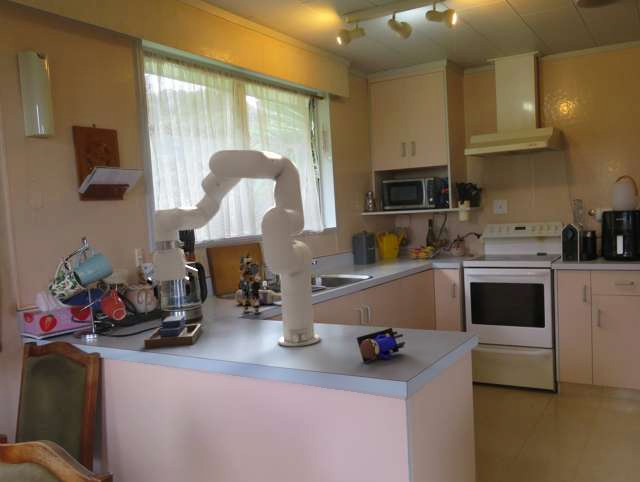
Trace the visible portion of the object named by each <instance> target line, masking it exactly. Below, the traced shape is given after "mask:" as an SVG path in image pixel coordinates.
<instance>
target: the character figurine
mask: <svg viewBox="0 0 640 482" xmlns="http://www.w3.org/2000/svg"><path fill="white" fill-rule="evenodd" d="M403 337H404V334H403V333H400V334H398V331H397V330H396V331H393V327H389V328H386V329H383V330H379V331H376V332H372V333H368V334H365V335H361V336H357V337H356V341H357V345H358V348H359V352H360V354H361V358H362V362H363V363H367V362H369V361H373V360H377V359H380V358H382V359H384V360H388V359H389V357H391V355H392V354H396V353H399V352H400V350H399V349H403V348H405V344H406V342H405V341H401V342H398V343H397V339H399V338H403Z"/></svg>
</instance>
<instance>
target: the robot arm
mask: <svg viewBox="0 0 640 482" xmlns="http://www.w3.org/2000/svg"><path fill="white" fill-rule="evenodd" d="M208 168H209V171H210V172H209V173H208V174H207V175H206V176H205V177H204V178H203V179H202V180H201V184H200V187H201V189H202V190H203V192H204V196H202V198H201V200H199V202H197V203H196V204H195V205H194V206H178V207H172V208H167V209H157V210H156V209H155V210H154V211H153V213H152V221H153V230H154V231H153V232H154V241H155V250H156V251H154V253H153V269H151V270H149V271H147V272H145V273H144V274H143V275H142V277H143V278H144V280H145V281H146V283H147V284H148V285H150V286H151V287H152V291H153V297H154V298H155V300H159V299H160V298H161V290H160V286H159V284H160V283H161V282H169V281H178V280H179V281H180V280H182V281H183V282H184V283H185V285H184V287H185V296H186V297H190V295H191V294H192V282H193V281H194V280H195V279H196V277H197V274H198V272H199V270H198V269H196V268H193V267H192V266H188V265H187V260H186V255H185V251H184V249H182V247H184V246H185V242H184V241H181V240H180V232H179V231H188V230H189V231H190V230H199V229H202V228H204V227H205V226H206V225H208V224H209V222H211V221H212V219H213V218H215V216H216V215H217V214H218V213H219V211H220V209H221V207H222V204H223V200H224V198H225V197H226V196H227V195H228V194H229V193H230V192H231V191H233V189H234V188H235V187H236V186H237V185H239V183H240V182H241V181H243V180H244V179H246V180H247V179H249V180H265V181H266V180H267V181H268V180H269V181H273V182H274V185H273V191H272V195H273V203H274V206H272V207H269V208H268V209H267V210H266V211H265V212H264V213H263V215H262V218H261V223H260V228H261V229H260V231H261V238H262V239H261V240H262V247H263V248H262V249H263V256H264V261H265V265H266V267H267V269H268V270H269V271H270V272H271V273H273V274H274V275H277V276H280V294H281V301H280V302H281V316H282V318H281V319H282V331H283V333H282V334H283V336H281V337H280V338H279V339H278V344H279V345H281V346H284V347H303V346H308V345H313V344H316V343H318V342H319V341H320V335H318V334H316V333H315V324H314V306H313V293H312V292H313V290H312V288H313V287H312V269H313V255H312V254H313V253H312V251H311V249H310V247H309V246H308V245H307V244H306V243H305V242H303V241H300V240H294V237H295V236H298V235H300V234H301V233H302V232H303V231H304V228H305V214H304V205H303V196H302V191H301V190H302V189H301V188H302V187H301V178H300V173H299V168H298V167H297V165H296V163H295V162H294V161H293V160H292V159H290V158H289V157H287V156H285V155H283V154H281V153H280V154H279V153H276V152H272V151H265V150H260V149H259V150H258V149H219V150H217V151H216V152H214V153H213V154H211V156H210V158H209V161H208ZM188 272H190V273H191V276H190V277H188V276H189V275H188V274H189V273H188ZM152 275H153V278H154V280H153V279H151V277H150V276H152Z"/></svg>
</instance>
